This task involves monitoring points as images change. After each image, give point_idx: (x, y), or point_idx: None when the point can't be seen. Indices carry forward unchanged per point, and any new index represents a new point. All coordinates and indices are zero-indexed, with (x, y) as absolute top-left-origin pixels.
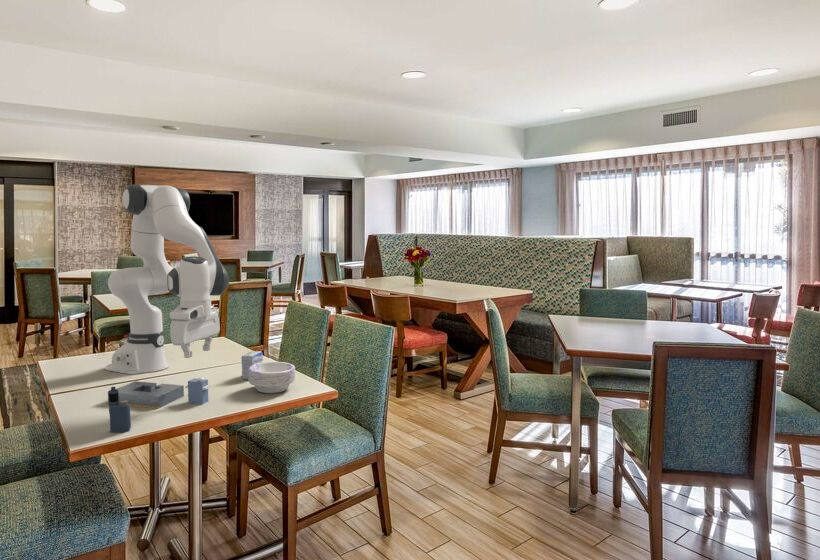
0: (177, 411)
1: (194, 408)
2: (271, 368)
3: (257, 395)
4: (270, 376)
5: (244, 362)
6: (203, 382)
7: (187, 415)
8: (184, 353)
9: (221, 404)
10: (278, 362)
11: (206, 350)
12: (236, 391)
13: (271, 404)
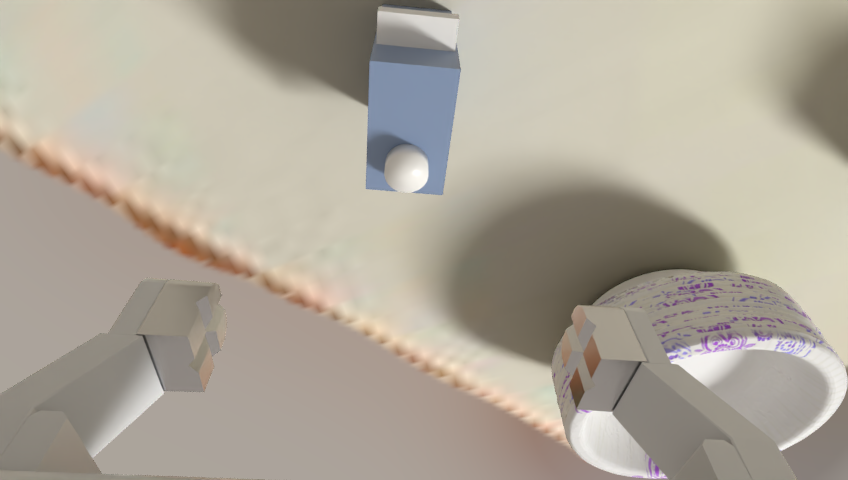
0: (211, 24)
1: (297, 100)
2: (788, 367)
3: (556, 295)
4: (563, 425)
5: None
6: (383, 186)
7: (183, 121)
8: (121, 321)
9: (398, 205)
10: (816, 416)
11: (564, 342)
12: (634, 186)
13: (437, 368)
